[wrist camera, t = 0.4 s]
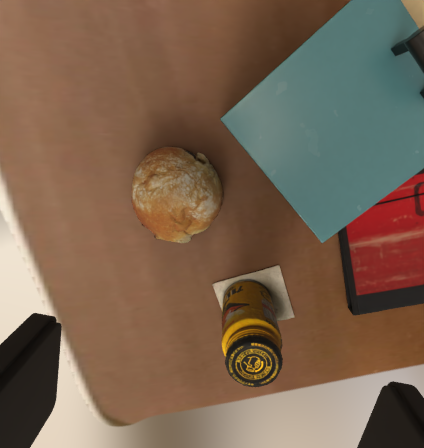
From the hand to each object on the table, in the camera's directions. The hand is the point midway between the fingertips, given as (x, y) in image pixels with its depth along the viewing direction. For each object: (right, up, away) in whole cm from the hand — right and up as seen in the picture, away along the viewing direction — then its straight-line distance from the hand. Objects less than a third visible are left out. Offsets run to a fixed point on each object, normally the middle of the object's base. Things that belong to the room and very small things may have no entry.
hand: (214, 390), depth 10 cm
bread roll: (-4, +8, +29) cm, 31 cm away
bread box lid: (+11, +13, +18) cm, 24 cm away
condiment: (+5, -5, +32) cm, 33 cm away
